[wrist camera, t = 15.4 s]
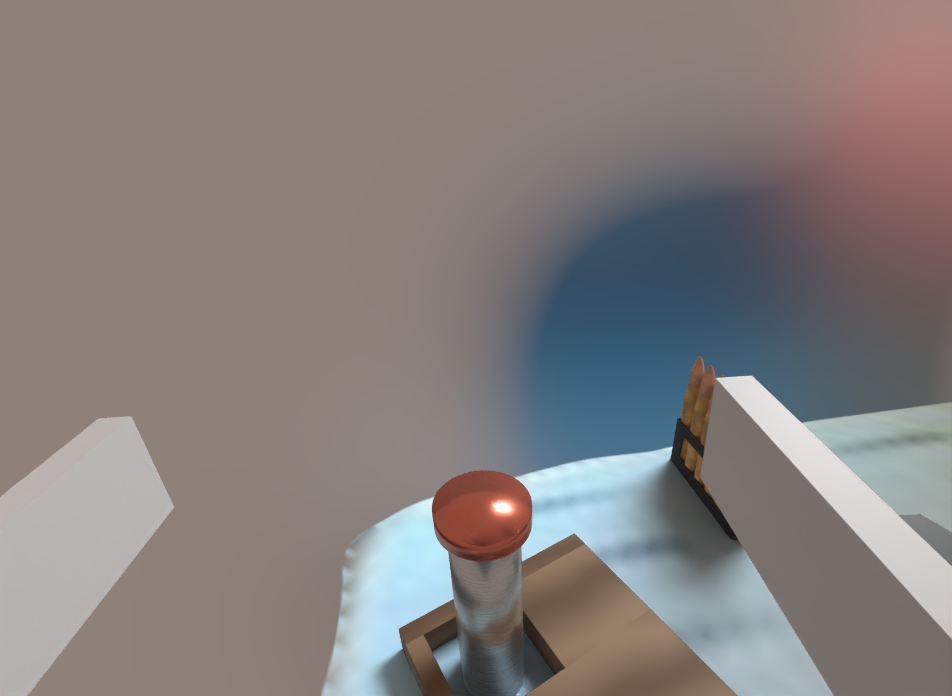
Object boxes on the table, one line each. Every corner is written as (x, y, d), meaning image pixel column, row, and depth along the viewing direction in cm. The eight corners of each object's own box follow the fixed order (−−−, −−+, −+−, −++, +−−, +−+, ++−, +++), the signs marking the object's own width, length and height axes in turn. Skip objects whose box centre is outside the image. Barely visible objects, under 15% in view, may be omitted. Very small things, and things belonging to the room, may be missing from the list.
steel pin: (550, 684, 30) (552, 514, 24) (478, 734, 28) (461, 560, 22) (504, 618, 34) (497, 459, 28) (439, 657, 32) (416, 493, 26)
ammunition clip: (753, 537, 39) (784, 414, 34) (731, 540, 39) (759, 417, 34) (687, 456, 49) (704, 351, 44) (670, 458, 49) (685, 353, 44)
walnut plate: (747, 732, 27) (754, 712, 26) (531, 940, 21) (530, 922, 20) (573, 551, 39) (574, 533, 38) (402, 648, 33) (398, 628, 32)
